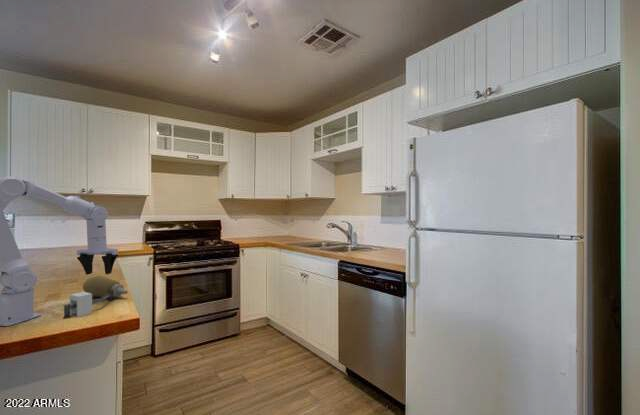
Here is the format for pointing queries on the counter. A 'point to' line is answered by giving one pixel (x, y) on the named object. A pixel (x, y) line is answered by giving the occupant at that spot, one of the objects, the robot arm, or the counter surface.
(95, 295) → the squeeze bottle
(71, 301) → the grey u-shaped block
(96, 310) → the counter surface
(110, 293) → the grey lever handle
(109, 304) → the counter surface
